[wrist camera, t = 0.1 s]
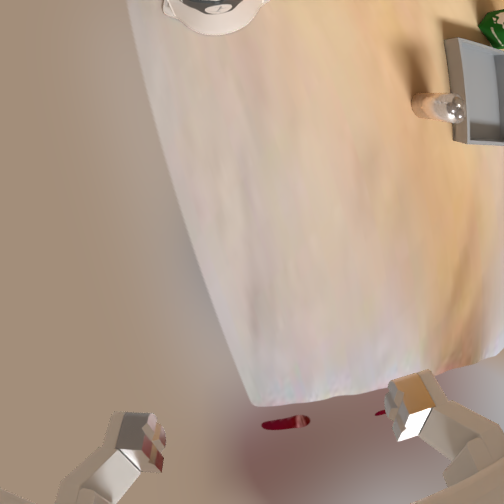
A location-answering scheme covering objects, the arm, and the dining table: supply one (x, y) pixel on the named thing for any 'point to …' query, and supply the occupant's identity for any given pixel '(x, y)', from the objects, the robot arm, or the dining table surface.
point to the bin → (477, 90)
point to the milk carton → (494, 28)
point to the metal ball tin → (439, 107)
